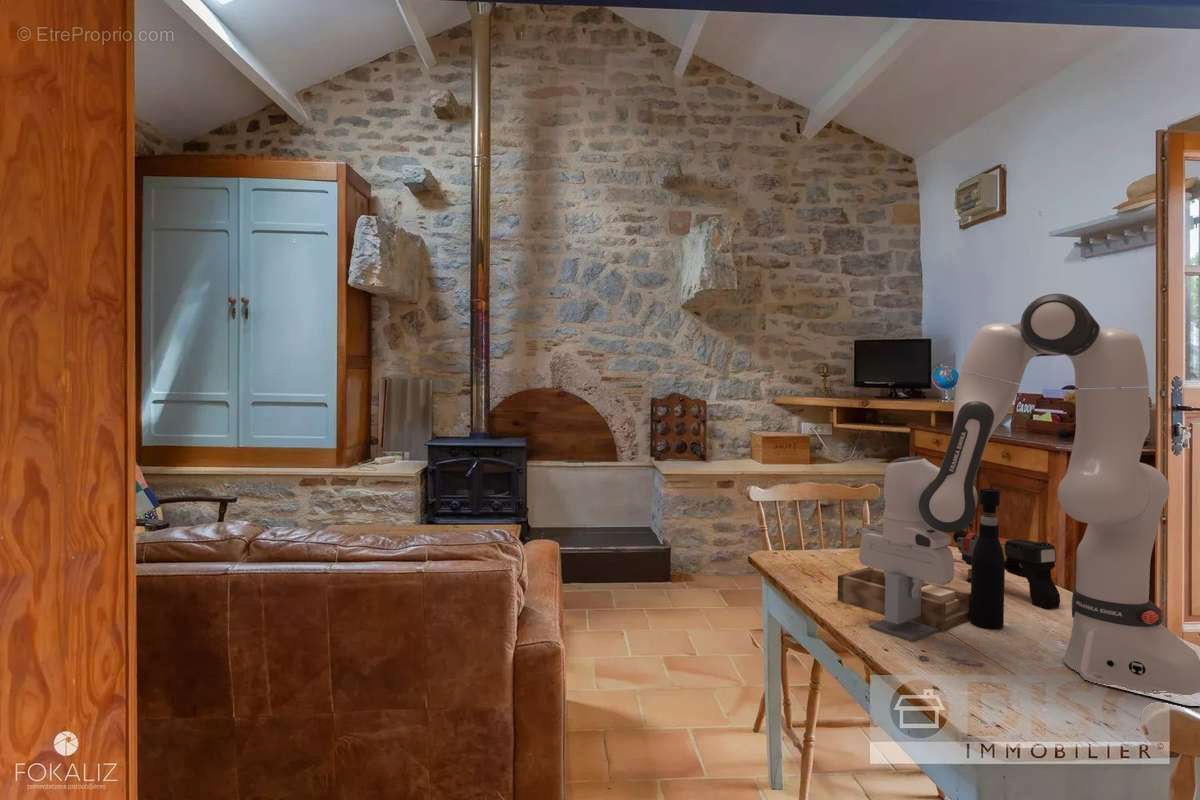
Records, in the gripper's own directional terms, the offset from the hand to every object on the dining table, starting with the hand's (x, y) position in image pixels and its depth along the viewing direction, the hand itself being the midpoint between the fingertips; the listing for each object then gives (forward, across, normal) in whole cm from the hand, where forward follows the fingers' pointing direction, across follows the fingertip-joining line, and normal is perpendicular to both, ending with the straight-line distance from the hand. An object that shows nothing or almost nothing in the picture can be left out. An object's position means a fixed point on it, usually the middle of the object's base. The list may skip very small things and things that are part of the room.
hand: (903, 594), depth 151 cm
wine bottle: (+8, +9, +18) cm, 22 cm away
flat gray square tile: (+8, 0, 0) cm, 8 cm away
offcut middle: (+6, 0, +12) cm, 14 cm away
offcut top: (+3, 0, +12) cm, 13 cm away
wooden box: (+8, -7, +12) cm, 16 cm away
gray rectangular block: (+5, 0, 0) cm, 5 cm away
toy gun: (+8, 0, +45) cm, 46 cm away
